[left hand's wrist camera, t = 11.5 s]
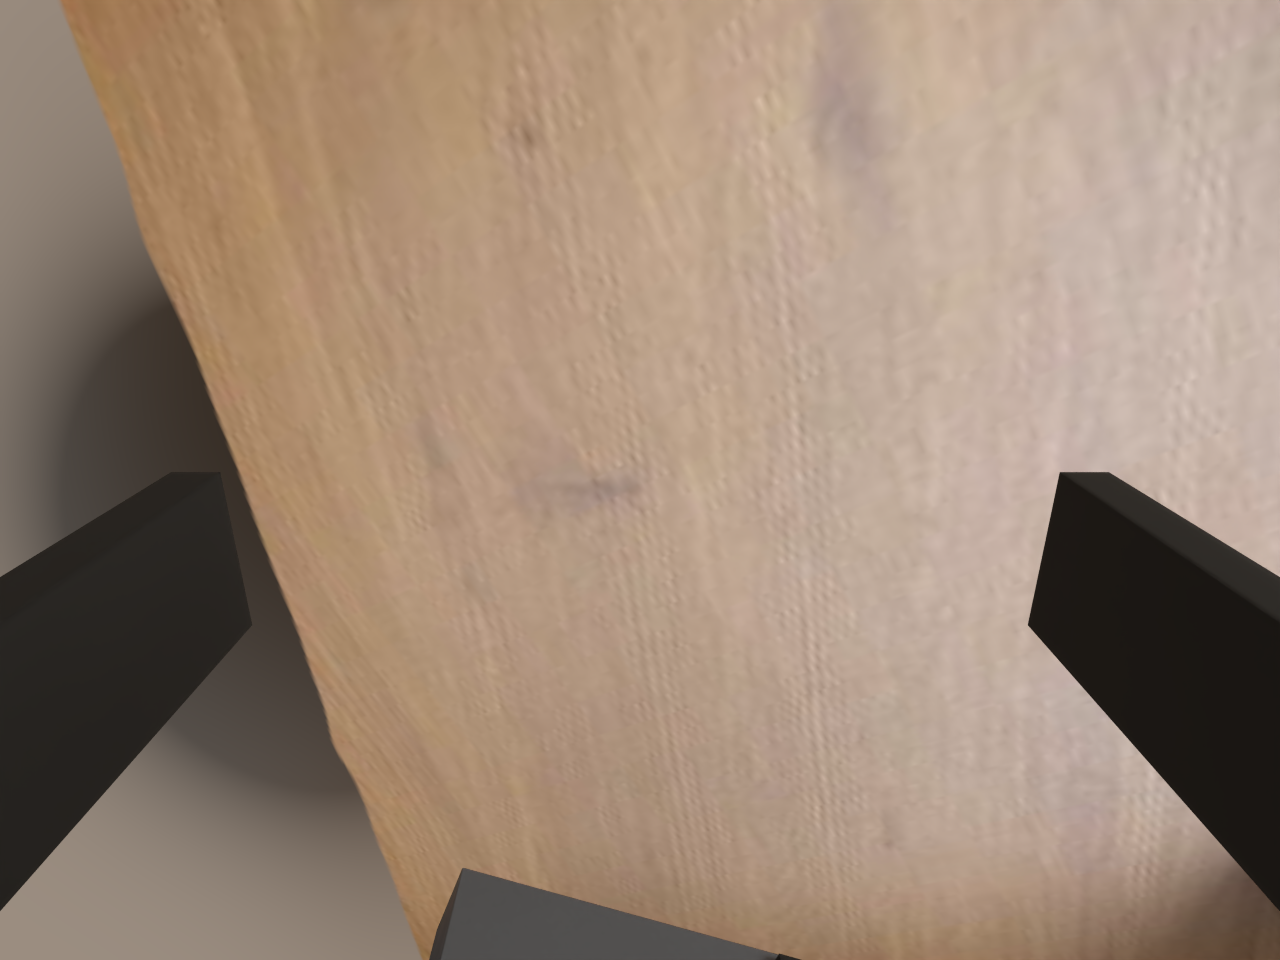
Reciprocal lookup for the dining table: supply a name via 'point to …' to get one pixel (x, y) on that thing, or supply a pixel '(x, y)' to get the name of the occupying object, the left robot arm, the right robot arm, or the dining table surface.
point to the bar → (561, 929)
